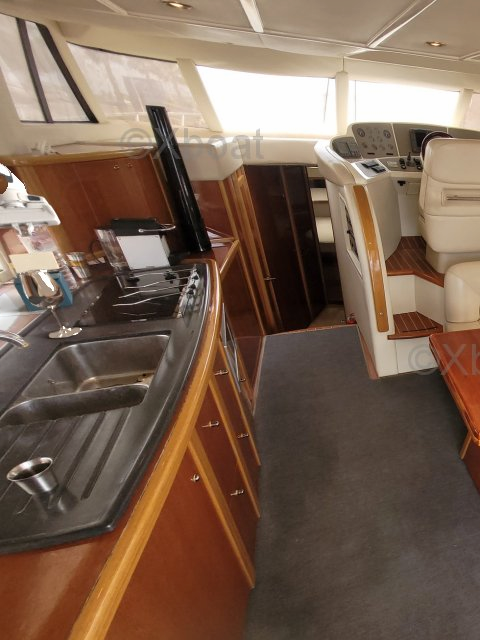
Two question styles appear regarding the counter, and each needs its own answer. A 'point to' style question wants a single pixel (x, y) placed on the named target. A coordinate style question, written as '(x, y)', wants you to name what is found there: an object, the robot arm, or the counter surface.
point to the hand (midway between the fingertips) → (26, 235)
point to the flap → (34, 261)
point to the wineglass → (46, 297)
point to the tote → (59, 280)
